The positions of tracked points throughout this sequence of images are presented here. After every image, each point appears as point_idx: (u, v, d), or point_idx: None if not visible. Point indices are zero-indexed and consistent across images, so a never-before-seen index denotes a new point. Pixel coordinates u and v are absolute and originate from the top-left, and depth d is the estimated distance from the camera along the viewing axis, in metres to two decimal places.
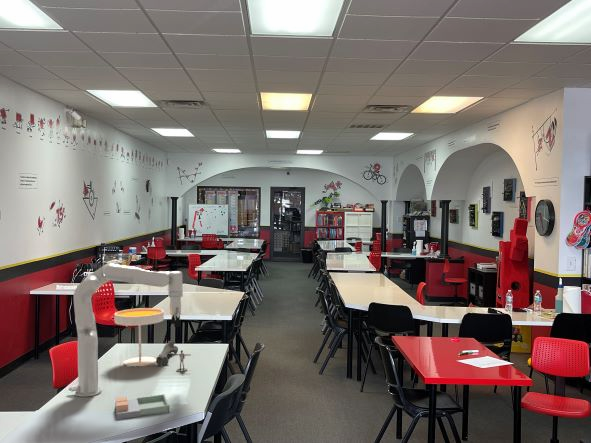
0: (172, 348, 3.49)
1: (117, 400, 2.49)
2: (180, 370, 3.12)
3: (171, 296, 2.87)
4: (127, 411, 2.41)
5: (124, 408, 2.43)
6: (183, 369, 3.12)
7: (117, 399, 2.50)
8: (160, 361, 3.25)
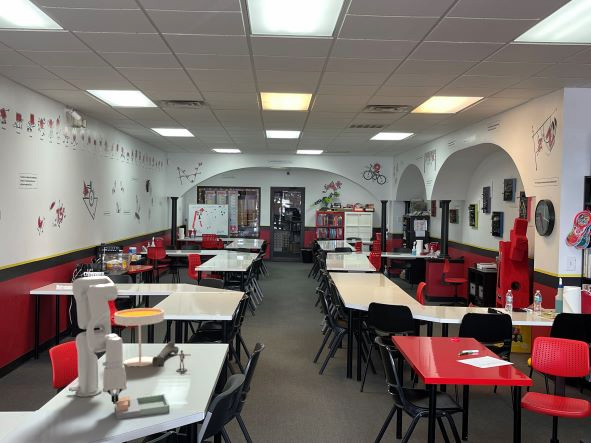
0: (172, 348, 3.47)
1: (120, 400, 2.49)
2: (180, 370, 3.12)
3: (120, 366, 2.48)
4: (127, 411, 2.41)
5: (124, 408, 2.43)
6: (183, 369, 3.12)
7: (120, 399, 2.51)
8: (156, 361, 3.24)
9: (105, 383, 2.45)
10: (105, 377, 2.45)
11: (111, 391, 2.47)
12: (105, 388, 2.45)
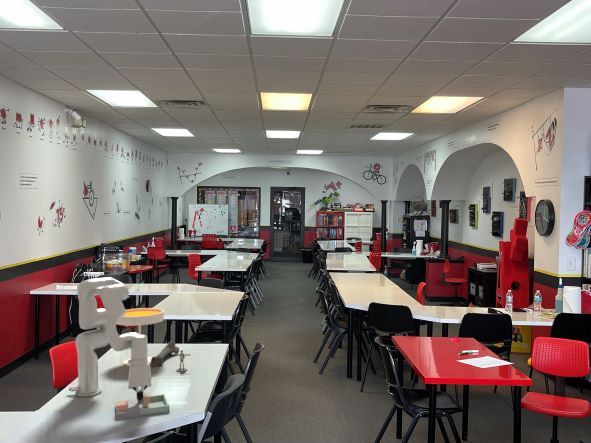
0: (172, 349, 3.47)
1: (149, 397, 2.53)
2: (180, 370, 3.12)
3: (145, 363, 2.52)
4: (127, 411, 2.41)
5: (124, 408, 2.43)
6: (183, 369, 3.12)
7: None
8: (155, 362, 3.24)
9: (131, 380, 2.49)
10: (131, 374, 2.49)
11: (136, 388, 2.51)
12: (131, 385, 2.49)
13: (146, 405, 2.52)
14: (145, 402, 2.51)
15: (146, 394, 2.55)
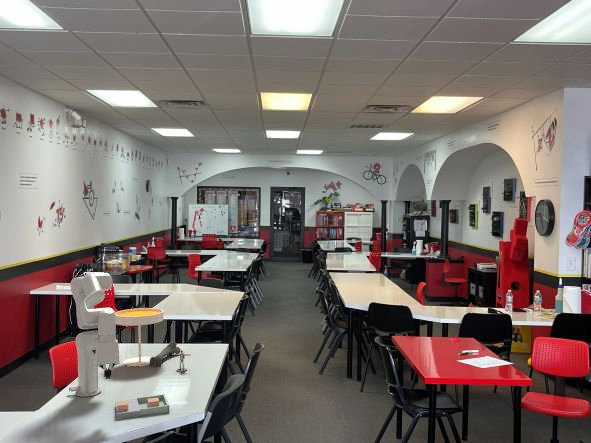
0: (173, 349, 3.46)
1: None
2: (180, 370, 3.12)
3: (113, 340, 2.42)
4: (127, 411, 2.41)
5: (124, 408, 2.43)
6: (183, 369, 3.12)
7: None
8: (153, 362, 3.23)
9: (98, 357, 2.39)
10: (98, 351, 2.39)
11: (104, 366, 2.41)
12: (98, 362, 2.39)
13: (150, 405, 2.52)
14: (153, 403, 2.52)
15: None
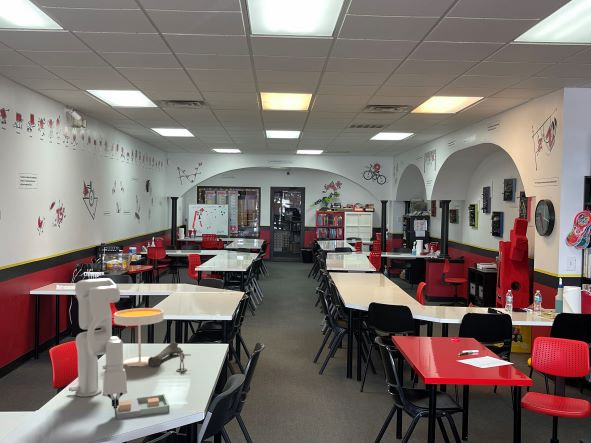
0: (174, 349, 3.45)
1: None
2: (180, 370, 3.12)
3: (121, 370, 2.42)
4: (127, 411, 2.41)
5: (127, 408, 2.43)
6: (183, 369, 3.12)
7: None
8: (152, 362, 3.23)
9: (105, 387, 2.40)
10: (105, 381, 2.40)
11: (111, 395, 2.42)
12: (105, 392, 2.40)
13: (150, 405, 2.52)
14: (153, 403, 2.52)
15: None
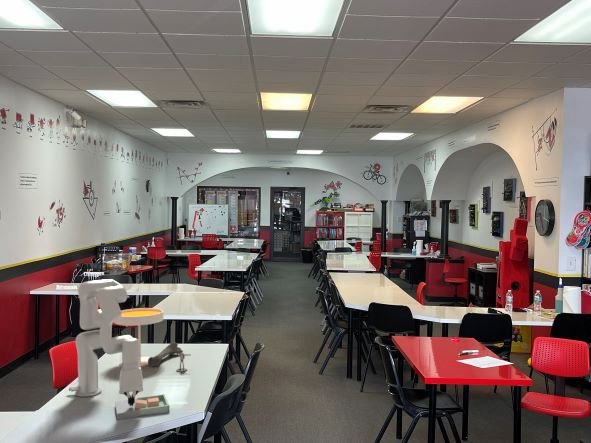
0: (174, 349, 3.45)
1: None
2: (180, 370, 3.12)
3: (137, 368, 2.44)
4: (127, 411, 2.41)
5: (142, 407, 2.45)
6: (183, 369, 3.12)
7: None
8: (152, 362, 3.23)
9: (122, 385, 2.42)
10: (122, 379, 2.42)
11: (127, 393, 2.44)
12: (122, 390, 2.42)
13: (150, 405, 2.52)
14: (153, 403, 2.52)
15: None
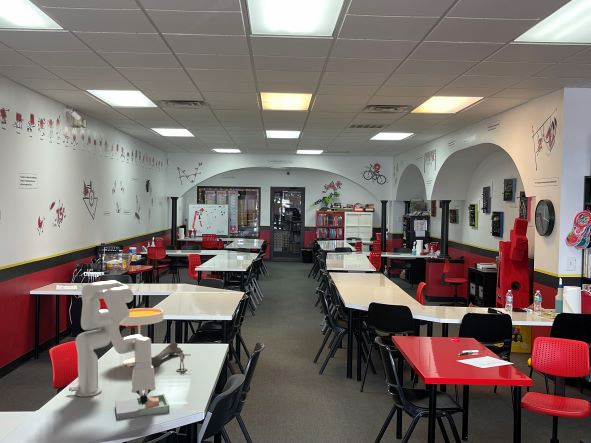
0: (174, 349, 3.45)
1: None
2: (180, 370, 3.12)
3: (149, 367, 2.46)
4: (127, 411, 2.41)
5: (147, 407, 2.46)
6: (183, 369, 3.12)
7: None
8: (151, 362, 3.23)
9: (134, 383, 2.44)
10: (134, 377, 2.44)
11: (140, 391, 2.46)
12: (134, 388, 2.44)
13: None
14: (153, 403, 2.52)
15: None
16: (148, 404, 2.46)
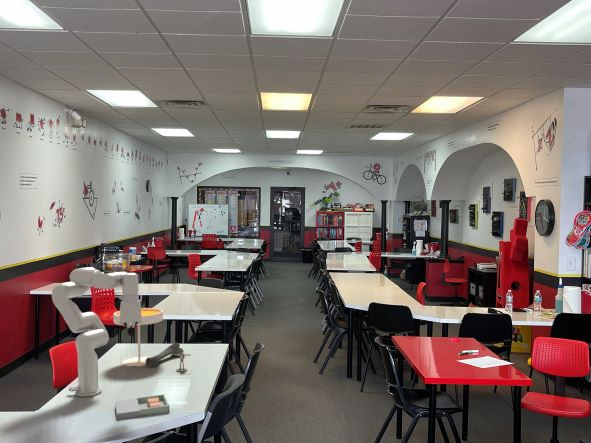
0: (176, 350, 3.43)
1: None
2: (180, 370, 3.12)
3: (136, 300, 2.62)
4: (127, 411, 2.41)
5: None
6: (183, 369, 3.12)
7: None
8: (149, 362, 3.22)
9: (122, 315, 2.59)
10: (122, 310, 2.59)
11: (127, 323, 2.61)
12: (122, 320, 2.59)
13: None
14: None
15: None
16: None
